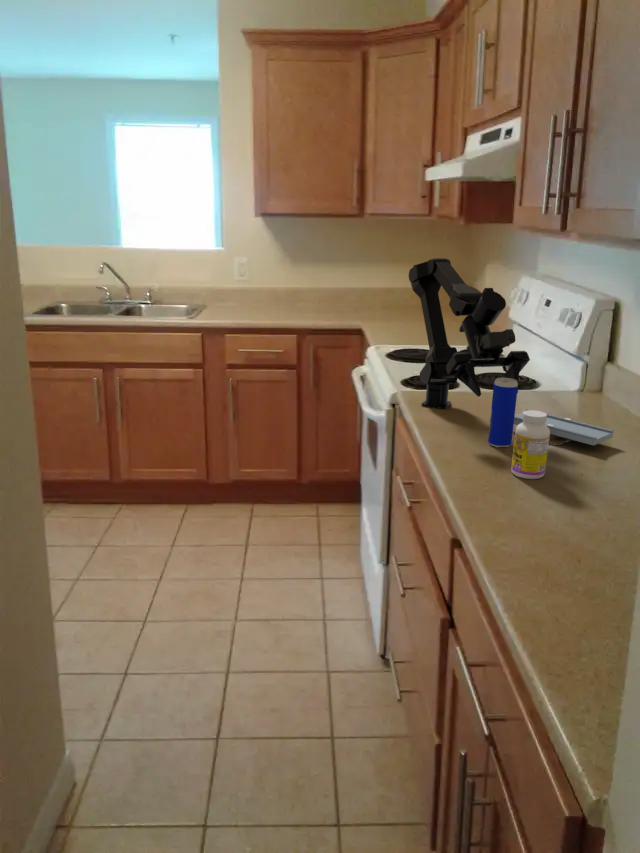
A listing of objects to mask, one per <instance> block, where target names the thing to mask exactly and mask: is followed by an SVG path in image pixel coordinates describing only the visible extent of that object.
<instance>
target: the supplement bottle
mask: <svg viewBox="0 0 640 853" xmlns="http://www.w3.org/2000/svg"><path fill="white" fill-rule="evenodd" d="M522 413H523V414H522V420H523V423H520V424H519V425H516V427H515V433H514V442H513V449H512V456H511V457H512V458H511V468H510V471H511V472H512V474H513V475H514V476H516V477H519V478H521V479H525V480H537V479H541V478H543V477H544V476H545V474H546V468H547V460H548V451H549V445H550V444H549V437H550V430H549V428H548V427H547V426H546V425H545V422H546V421H547V414H548V413H546V412H544V411H541V410H534V409H530V410H529V411H526V410H524V411H522Z"/></svg>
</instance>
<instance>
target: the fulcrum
mask: <svg viewBox="0 0 640 853" xmlns="http://www.w3.org/2000/svg"><path fill="white" fill-rule="evenodd" d="M567 441H568V442H570V441H572V440H571V439H567V438H564V437H560V436H556V435H553V434H550V437H549V443H552V444H555V445H554V446H556V445H558V446H560V445H562V444H561V443H563V444H565V443H568V442H567ZM564 442H565V443H564ZM552 444H551V445H552ZM559 444H560V445H559Z"/></svg>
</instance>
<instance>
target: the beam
mask: <svg viewBox="0 0 640 853" xmlns="http://www.w3.org/2000/svg"><path fill="white" fill-rule="evenodd" d="M529 410H531V409H529V408H527V409H525V411H529ZM522 414H523V412H521V413H517V414H515V416H514V425H516V426H518V425H519V424H520V423H523V420H522ZM546 414H547V421H546V422H545V425H546V426H547V427H548V428H549V430H550V434H553V435H556V436H560V437H564V438H567V439H571V440H570V441H575V442H580V443H582V444H587V445H591V446H596V445H598V444H600V443H603V442H605V441H608V440H610V439H612V438H614V430H613V429H609V428H605V427H602V426H597V425H595V424H590V423H585V422H582V421H579V420H573V419H572V418H569V417H563V416H562V417H561V416H557V415H553V414H549V413H546Z"/></svg>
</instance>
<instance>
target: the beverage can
mask: <svg viewBox="0 0 640 853" xmlns="http://www.w3.org/2000/svg"><path fill="white" fill-rule="evenodd" d="M517 390H518V391H519V382H518V383H517V380H515V379H511V378H505V377H497V378H495V380H494V382H493V390H492V399H491V410H490V417H489V418H490V419H489V429H488V430H489V431H488V438H487V439H488V440H487V442H488V444H489V445H490V446H491V445H492V447H493V446H495V447H494V448H498V447H507V448H509V447H511V445H512V442H513V432H514V425H515V424H514V416H515V415H516V406H517V398H518V393H517Z"/></svg>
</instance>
